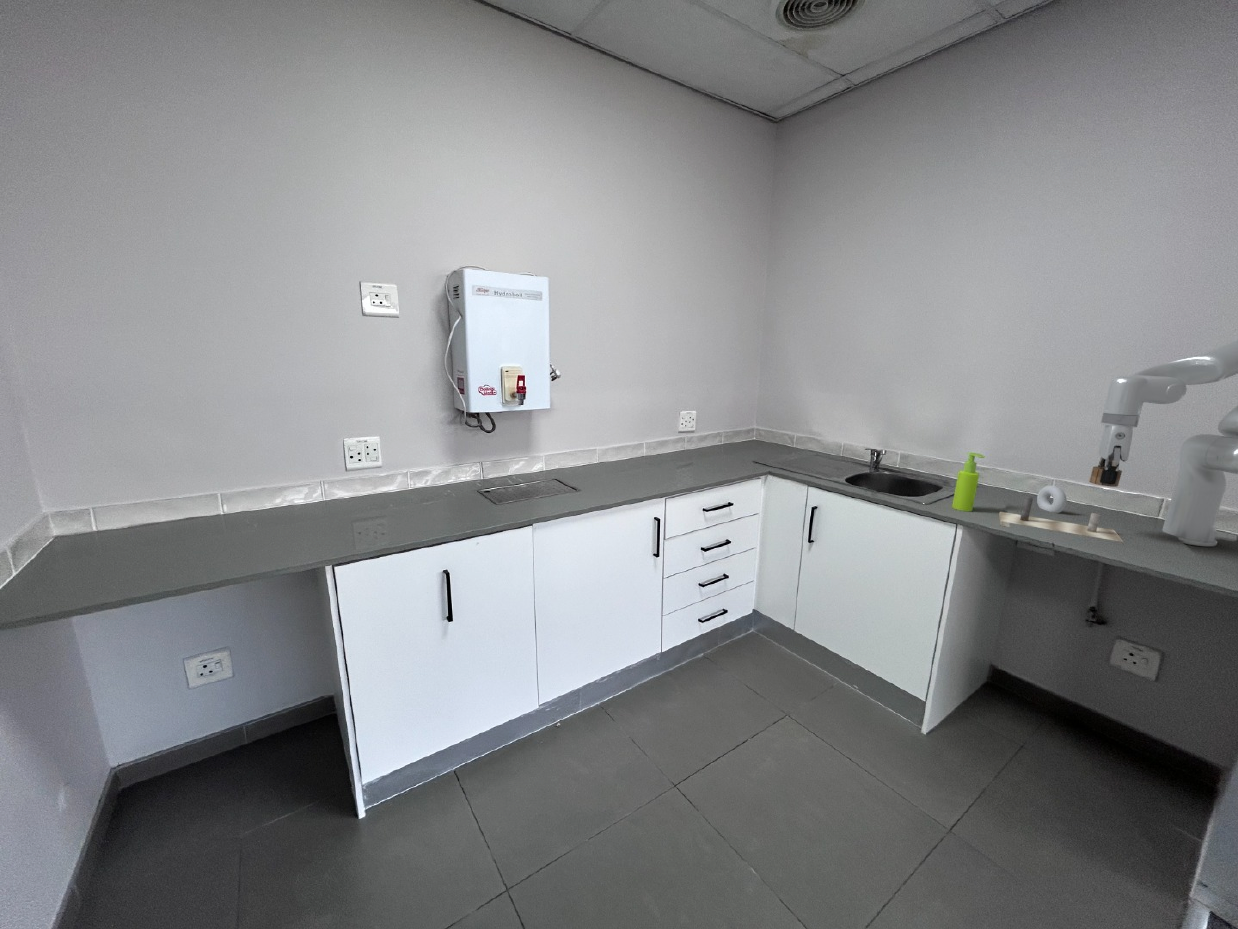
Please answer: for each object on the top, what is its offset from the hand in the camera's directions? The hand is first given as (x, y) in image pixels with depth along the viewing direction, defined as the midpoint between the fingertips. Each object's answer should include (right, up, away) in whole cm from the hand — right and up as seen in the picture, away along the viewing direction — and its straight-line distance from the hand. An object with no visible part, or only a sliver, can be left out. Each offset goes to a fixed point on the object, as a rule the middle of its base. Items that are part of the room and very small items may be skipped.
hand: (1104, 480), depth 146 cm
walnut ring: (0, -1, 0) cm, 1 cm away
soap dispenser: (-23, -11, +27) cm, 37 cm away
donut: (+4, -12, +24) cm, 28 cm away
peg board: (-7, -16, +8) cm, 19 cm away
